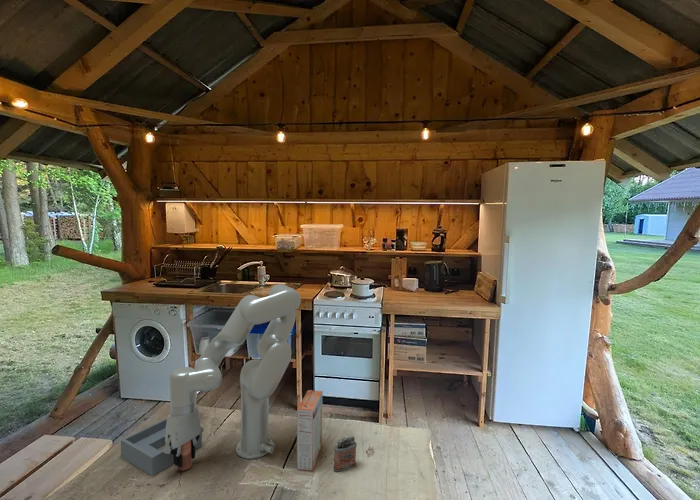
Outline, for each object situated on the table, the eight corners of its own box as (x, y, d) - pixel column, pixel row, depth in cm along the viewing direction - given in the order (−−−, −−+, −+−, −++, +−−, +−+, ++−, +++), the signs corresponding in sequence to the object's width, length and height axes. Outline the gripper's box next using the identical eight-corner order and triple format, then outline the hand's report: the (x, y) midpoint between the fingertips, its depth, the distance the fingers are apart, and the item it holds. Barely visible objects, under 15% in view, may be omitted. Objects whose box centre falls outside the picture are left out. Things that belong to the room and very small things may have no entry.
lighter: (336, 474, 110) (336, 444, 110) (331, 467, 113) (332, 438, 113) (357, 467, 114) (358, 437, 114) (353, 460, 117) (353, 432, 117)
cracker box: (306, 444, 126) (307, 388, 125) (322, 446, 125) (323, 390, 124) (295, 470, 112) (296, 408, 111) (313, 472, 111) (314, 409, 110)
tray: (201, 446, 123) (201, 429, 123) (152, 476, 107) (152, 457, 107) (170, 431, 132) (170, 415, 131) (120, 457, 116) (120, 439, 116)
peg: (194, 464, 112) (193, 435, 112) (183, 472, 109) (182, 441, 108) (186, 460, 114) (185, 431, 113) (175, 467, 111) (174, 438, 110)
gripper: (198, 393, 119) (199, 444, 120) (150, 416, 105) (152, 473, 106) (213, 398, 116) (213, 450, 117) (165, 422, 101) (167, 482, 102)
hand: (184, 460), depth 111 cm, fingers closed on peg, 4 cm apart
